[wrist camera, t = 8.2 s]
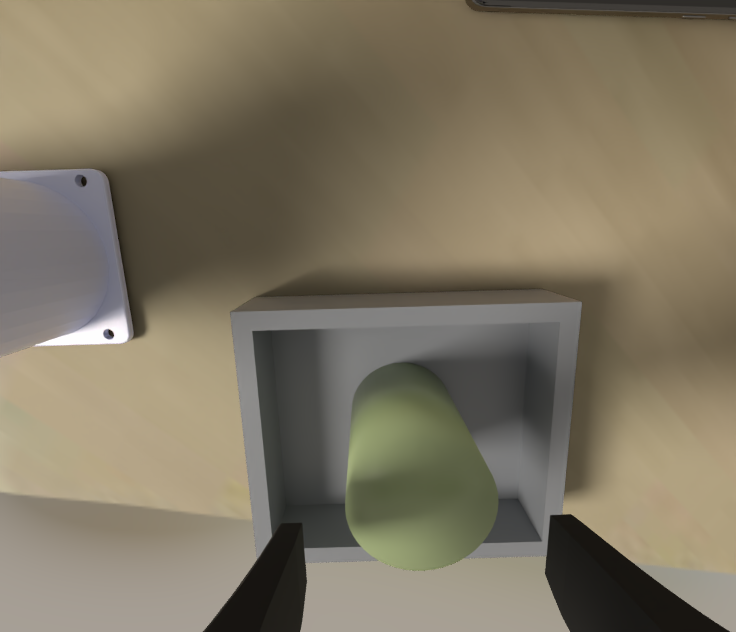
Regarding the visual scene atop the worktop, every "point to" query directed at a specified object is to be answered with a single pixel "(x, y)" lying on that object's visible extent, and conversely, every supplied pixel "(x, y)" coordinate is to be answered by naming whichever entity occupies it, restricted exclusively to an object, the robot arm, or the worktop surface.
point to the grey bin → (421, 347)
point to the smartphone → (615, 7)
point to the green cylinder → (415, 472)
